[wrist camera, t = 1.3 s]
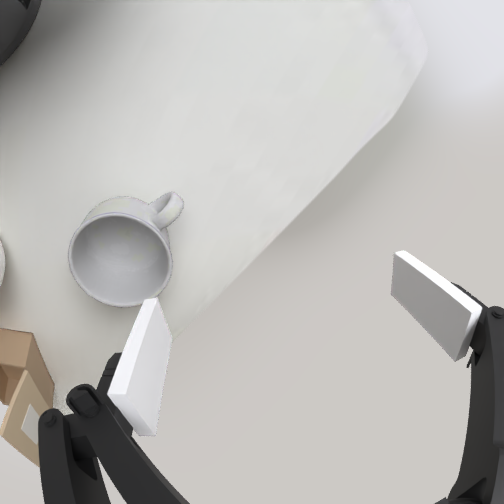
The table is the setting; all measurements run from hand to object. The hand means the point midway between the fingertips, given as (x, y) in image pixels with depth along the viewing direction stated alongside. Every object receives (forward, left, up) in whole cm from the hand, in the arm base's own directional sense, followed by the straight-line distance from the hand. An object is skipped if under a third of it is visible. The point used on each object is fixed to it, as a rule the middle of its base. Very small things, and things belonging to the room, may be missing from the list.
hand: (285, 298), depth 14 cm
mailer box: (-9, -47, -21) cm, 52 cm away
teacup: (-3, -10, -21) cm, 24 cm away
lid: (-6, -45, -8) cm, 46 cm away
